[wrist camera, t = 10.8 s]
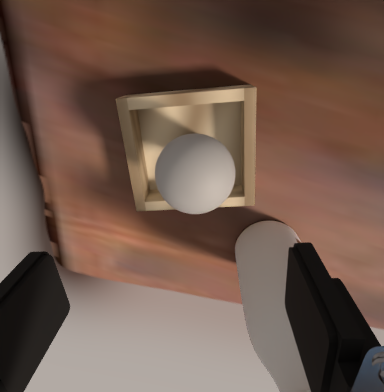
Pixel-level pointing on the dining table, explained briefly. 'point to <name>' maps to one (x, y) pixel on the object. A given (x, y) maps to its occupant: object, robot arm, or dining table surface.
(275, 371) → the milk bottle
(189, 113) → the holder
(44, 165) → the dining table surface
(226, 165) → the lightbulb
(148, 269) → the dining table surface
